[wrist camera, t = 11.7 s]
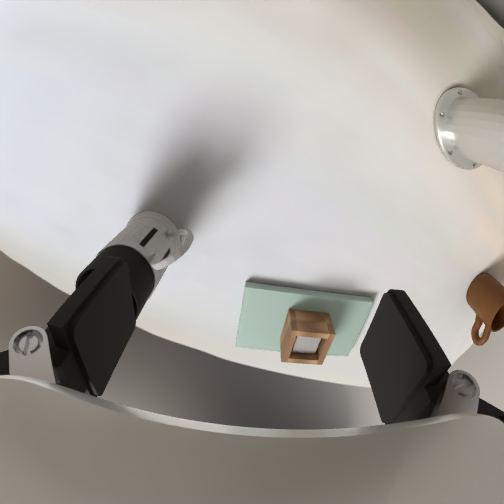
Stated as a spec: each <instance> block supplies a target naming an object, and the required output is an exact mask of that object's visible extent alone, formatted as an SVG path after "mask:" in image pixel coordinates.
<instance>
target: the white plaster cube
mask: <svg viewBox="0 0 504 504" xmlns="http://www.w3.org/2000/svg"><path fill="white" fill-rule="evenodd" d="M320 340H321V338H312V337H301V336H296V339H295V342H294V345H293V348H292V352H300V353H313V354H315V352H316V350H317V347H318V345H319V342H320Z"/></svg>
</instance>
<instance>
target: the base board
mask: <svg viewBox="0 0 504 504" xmlns="http://www.w3.org/2000/svg"><path fill="white" fill-rule="evenodd" d="M372 304H373V301H372V299H371V297H365V296H356V295H347V294H339V293H330V292H322V291H314V290H306V289H298V288H290V287H282V286H275V285H268V284H260V283H253V282H246V284H245V290H244V296H243V302H242V308H241V314H240V320H239V326H238V332H237V338H236V346H235V347H243V348H251V349H259V350H268V351H278V352H281V351H280V337H281V333H282V330H283V327H284V323H285V320H286V316H287V313H288V309H297V310H306V311H315V312H324V313H329V315H330V318H331V321H332V324H333V327H334V331H335V334H336V335H335V337H334V340H333V342H332V344H331V346H330V348H329V351H328V353H327V355H333V356H348V355H349V353H350V351H351V349H352V347H353V345H354V343H355V341H356V339H357V337H358V335H359V333H360V331H361V329H362V327H363V324H364V322H365V320H366V318H367V316H368V314H369V311H370V309H371V307H372Z"/></svg>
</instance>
